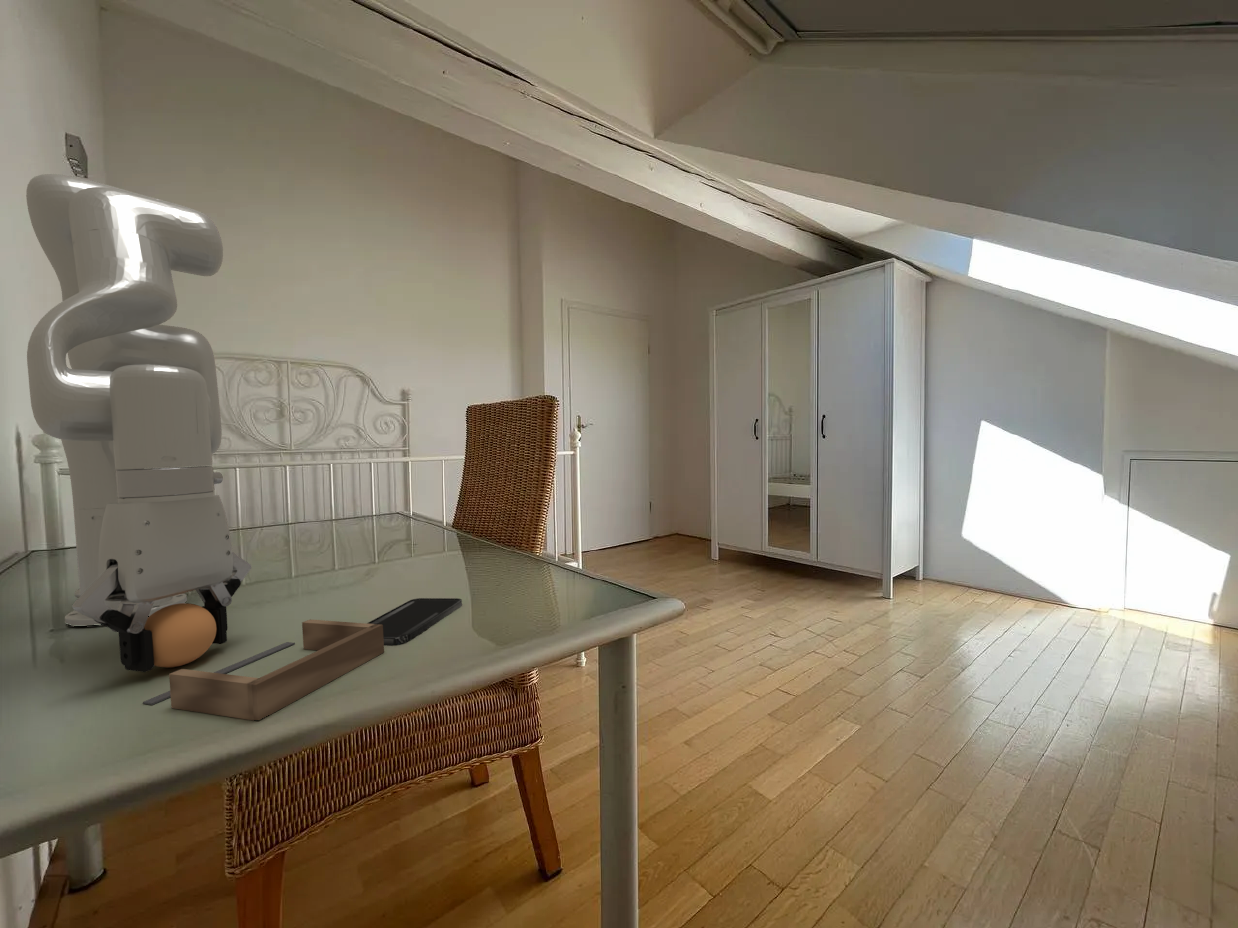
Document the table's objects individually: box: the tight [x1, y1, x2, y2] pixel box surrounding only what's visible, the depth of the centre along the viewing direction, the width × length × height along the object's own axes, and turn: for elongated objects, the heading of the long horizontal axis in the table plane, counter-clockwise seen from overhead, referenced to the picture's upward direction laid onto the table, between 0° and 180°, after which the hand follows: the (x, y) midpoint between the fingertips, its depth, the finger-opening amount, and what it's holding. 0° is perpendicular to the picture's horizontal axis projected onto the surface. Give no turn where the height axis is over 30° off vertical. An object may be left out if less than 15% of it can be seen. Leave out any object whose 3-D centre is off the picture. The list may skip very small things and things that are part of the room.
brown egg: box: [144, 602, 216, 668], centre depth 53 cm, size 6×6×6 cm
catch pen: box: [168, 618, 385, 721], centre depth 49 cm, size 10×14×3 cm
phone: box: [366, 597, 463, 647], centre depth 64 cm, size 8×1×15 cm
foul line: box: [142, 641, 296, 706], centre depth 51 cm, size 1×14×1 cm, turn 164°
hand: (178, 653), depth 53 cm, fingers closed on brown egg, 6 cm apart
